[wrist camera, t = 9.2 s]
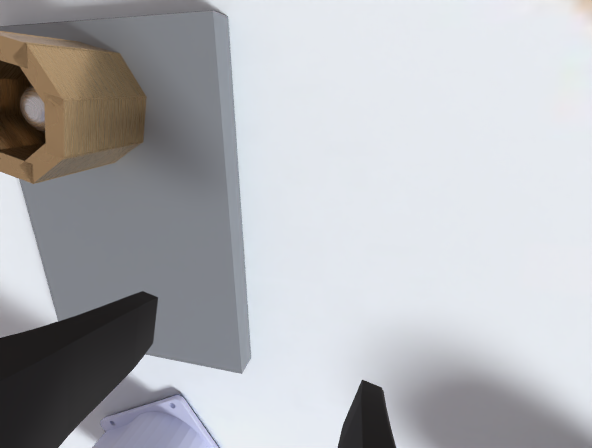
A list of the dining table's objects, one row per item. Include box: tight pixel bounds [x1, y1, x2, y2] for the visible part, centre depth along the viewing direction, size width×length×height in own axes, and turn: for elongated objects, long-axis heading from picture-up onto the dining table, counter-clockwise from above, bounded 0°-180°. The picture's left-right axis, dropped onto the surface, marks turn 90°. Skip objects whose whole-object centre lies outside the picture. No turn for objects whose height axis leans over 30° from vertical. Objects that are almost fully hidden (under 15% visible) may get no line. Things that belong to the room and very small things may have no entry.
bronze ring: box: [0, 31, 147, 184], centre depth 17 cm, size 6×6×5 cm
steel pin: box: [20, 86, 45, 132], centre depth 18 cm, size 2×2×4 cm
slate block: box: [0, 10, 251, 374], centre depth 22 cm, size 20×14×2 cm
